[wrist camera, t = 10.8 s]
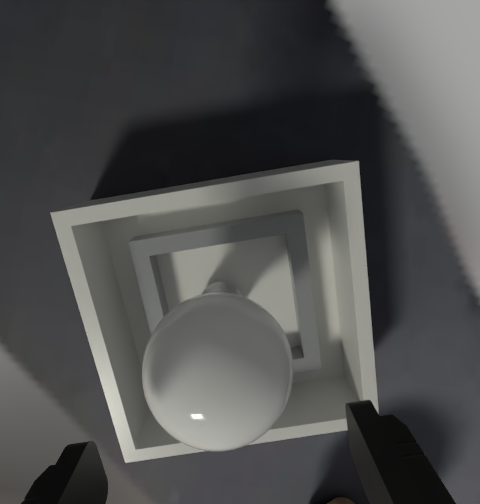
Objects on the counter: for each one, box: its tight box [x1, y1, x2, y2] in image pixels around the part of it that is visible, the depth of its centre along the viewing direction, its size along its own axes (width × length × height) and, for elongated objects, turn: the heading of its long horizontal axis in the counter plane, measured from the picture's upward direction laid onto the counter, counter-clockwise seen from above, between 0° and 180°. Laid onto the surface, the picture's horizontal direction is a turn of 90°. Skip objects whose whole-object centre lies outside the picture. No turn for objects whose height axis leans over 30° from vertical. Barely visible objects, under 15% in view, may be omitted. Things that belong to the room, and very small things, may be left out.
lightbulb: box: [142, 282, 294, 452], centre depth 18 cm, size 6×6×11 cm
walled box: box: [50, 160, 379, 463], centre depth 22 cm, size 15×15×5 cm
